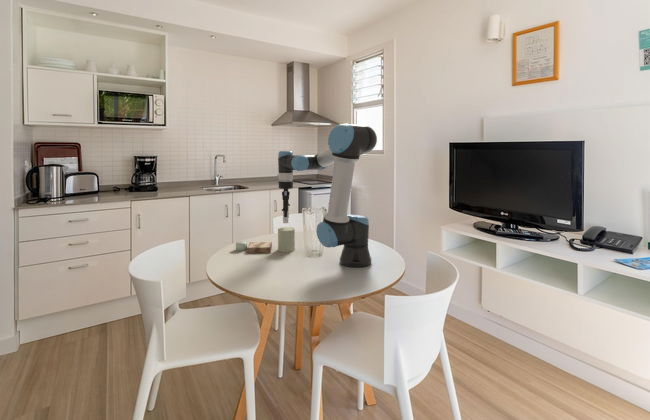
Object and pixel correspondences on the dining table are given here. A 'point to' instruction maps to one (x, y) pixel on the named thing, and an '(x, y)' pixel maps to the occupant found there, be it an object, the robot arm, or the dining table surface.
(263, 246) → the stand
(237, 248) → the pale green rounded block
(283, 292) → the dining table surface
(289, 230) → the can
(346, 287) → the dining table surface
